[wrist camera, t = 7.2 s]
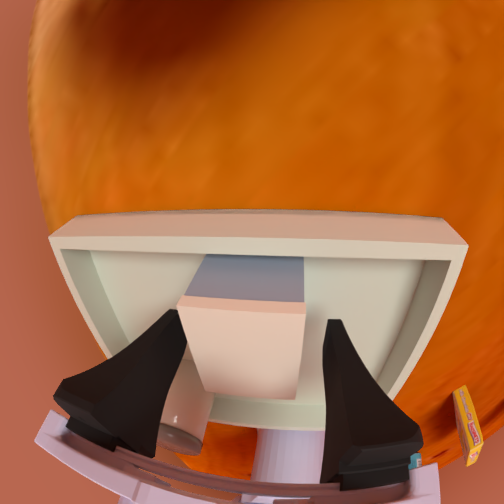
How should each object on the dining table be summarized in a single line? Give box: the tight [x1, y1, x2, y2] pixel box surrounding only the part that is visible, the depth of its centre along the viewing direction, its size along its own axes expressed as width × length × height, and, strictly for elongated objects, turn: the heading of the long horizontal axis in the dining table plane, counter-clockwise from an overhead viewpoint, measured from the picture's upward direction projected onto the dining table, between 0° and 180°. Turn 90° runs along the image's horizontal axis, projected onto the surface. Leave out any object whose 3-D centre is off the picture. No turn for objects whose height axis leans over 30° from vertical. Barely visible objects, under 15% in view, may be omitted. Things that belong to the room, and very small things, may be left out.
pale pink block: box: [176, 254, 306, 400], centre depth 13 cm, size 6×5×5 cm
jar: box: [156, 359, 216, 455], centre depth 18 cm, size 5×5×7 cm
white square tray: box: [48, 209, 469, 431], centre depth 17 cm, size 19×22×3 cm
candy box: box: [452, 385, 483, 467], centre depth 19 cm, size 16×2×8 cm, turn 38°
